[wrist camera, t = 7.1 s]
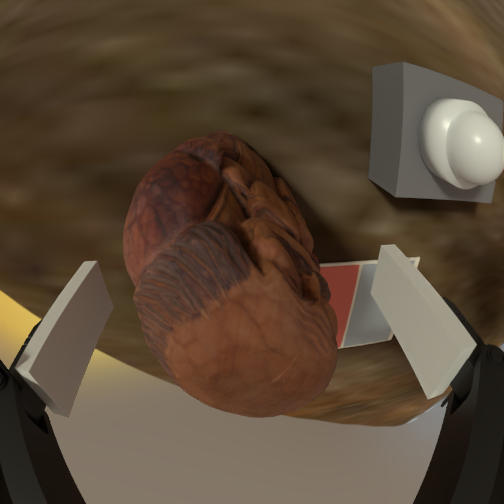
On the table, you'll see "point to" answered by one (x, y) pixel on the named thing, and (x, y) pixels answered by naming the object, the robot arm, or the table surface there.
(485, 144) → the dome
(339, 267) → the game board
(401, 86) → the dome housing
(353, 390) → the table surface
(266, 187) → the wooden figurine
